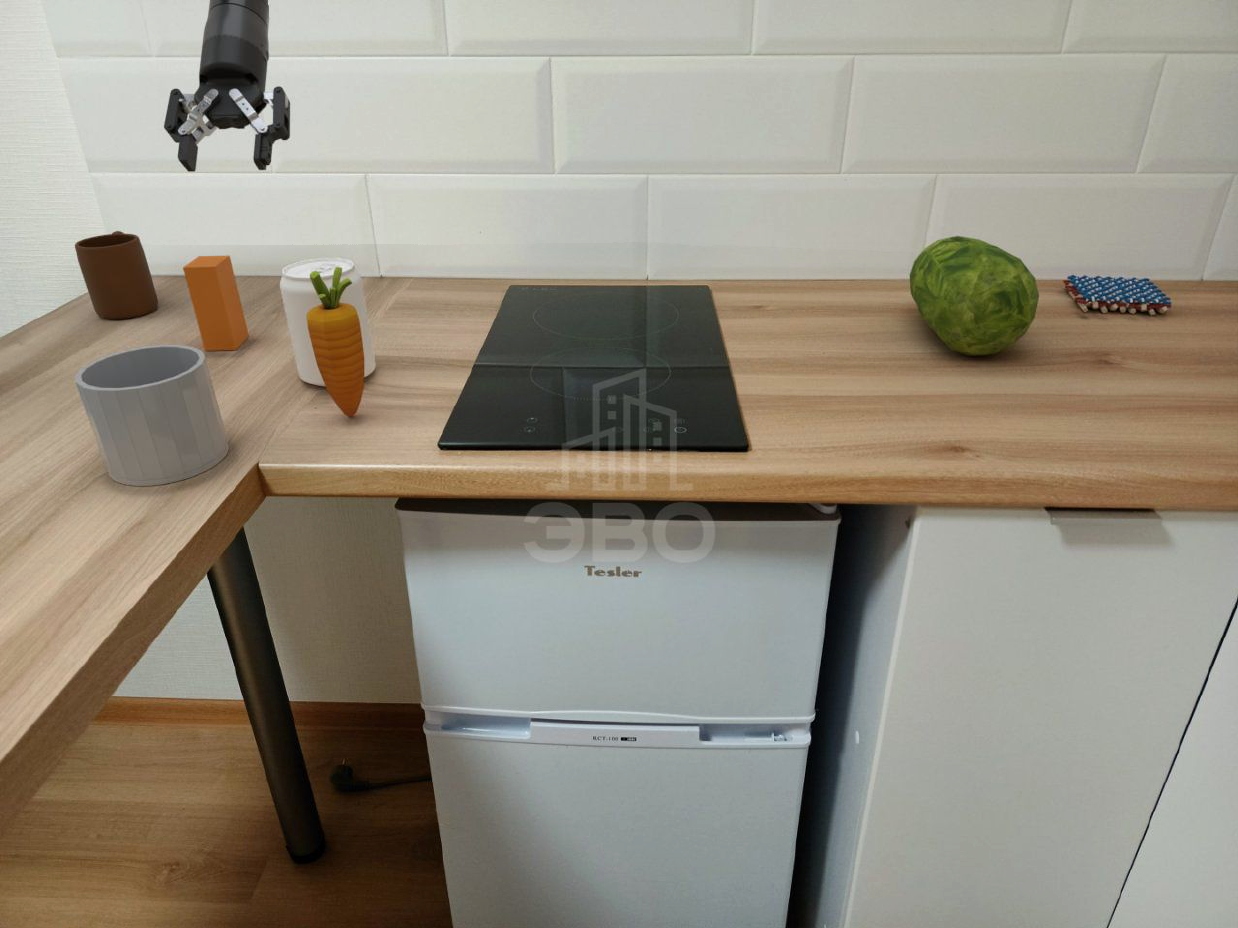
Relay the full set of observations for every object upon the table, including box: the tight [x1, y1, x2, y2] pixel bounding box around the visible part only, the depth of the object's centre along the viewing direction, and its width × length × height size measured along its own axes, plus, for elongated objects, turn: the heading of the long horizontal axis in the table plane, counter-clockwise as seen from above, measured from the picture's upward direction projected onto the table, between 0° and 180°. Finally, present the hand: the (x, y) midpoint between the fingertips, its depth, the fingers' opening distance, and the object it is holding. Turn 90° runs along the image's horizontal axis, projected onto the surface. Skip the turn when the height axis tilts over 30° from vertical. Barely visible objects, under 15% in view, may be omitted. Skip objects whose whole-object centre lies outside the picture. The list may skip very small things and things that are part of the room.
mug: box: [74, 230, 159, 320], centre depth 113 cm, size 12×8×9 cm, turn 17°
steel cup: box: [74, 344, 230, 487], centre depth 76 cm, size 10×10×9 cm
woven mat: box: [1062, 274, 1172, 316], centre depth 111 cm, size 10×11×2 cm
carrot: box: [307, 267, 365, 418], centre depth 81 cm, size 5×5×15 cm
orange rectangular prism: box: [182, 255, 250, 352], centre depth 101 cm, size 4×5×10 cm
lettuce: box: [909, 235, 1040, 357], centre depth 99 cm, size 12×21×11 cm, turn 2°
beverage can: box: [279, 257, 377, 388], centre depth 91 cm, size 8×8×12 cm
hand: (224, 167), depth 103 cm, fingers open, 8 cm apart
